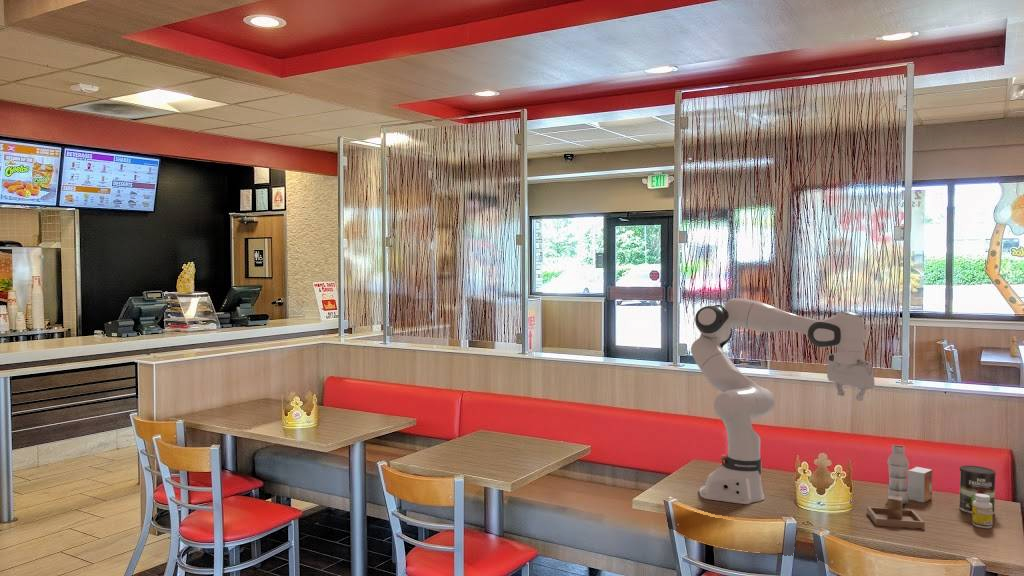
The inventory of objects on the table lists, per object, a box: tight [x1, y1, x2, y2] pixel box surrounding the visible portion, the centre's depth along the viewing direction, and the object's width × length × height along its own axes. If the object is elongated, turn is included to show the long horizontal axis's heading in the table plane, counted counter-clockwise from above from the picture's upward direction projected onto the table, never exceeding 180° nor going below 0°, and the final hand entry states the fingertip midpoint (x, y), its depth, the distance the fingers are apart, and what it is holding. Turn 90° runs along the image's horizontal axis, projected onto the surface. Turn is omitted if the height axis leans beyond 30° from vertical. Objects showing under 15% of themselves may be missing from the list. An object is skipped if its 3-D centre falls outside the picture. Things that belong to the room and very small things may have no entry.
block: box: [886, 495, 904, 520], centre depth 236 cm, size 4×4×7 cm
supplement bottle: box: [971, 494, 993, 529], centre depth 232 cm, size 5×5×10 cm
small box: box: [907, 466, 933, 504], centre depth 259 cm, size 8×6×10 cm
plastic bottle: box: [886, 444, 910, 505], centre depth 254 cm, size 6×7×20 cm
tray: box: [866, 506, 926, 530], centre depth 236 cm, size 14×12×2 cm
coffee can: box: [958, 465, 997, 516], centre depth 247 cm, size 10×10×14 cm
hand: (849, 398), depth 252 cm, fingers open, 8 cm apart
